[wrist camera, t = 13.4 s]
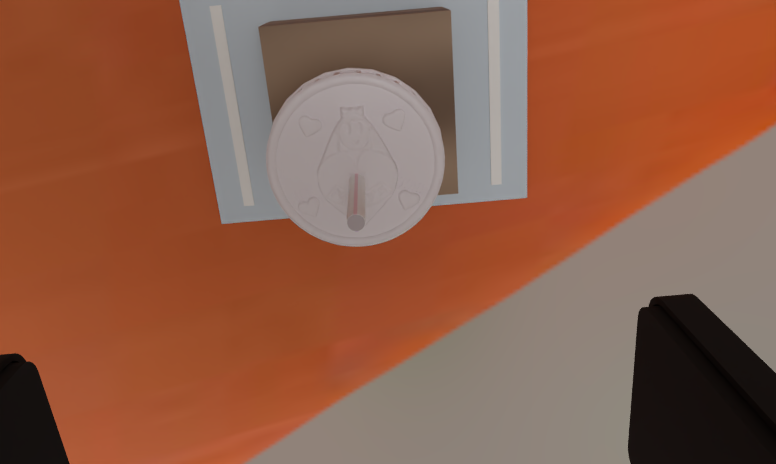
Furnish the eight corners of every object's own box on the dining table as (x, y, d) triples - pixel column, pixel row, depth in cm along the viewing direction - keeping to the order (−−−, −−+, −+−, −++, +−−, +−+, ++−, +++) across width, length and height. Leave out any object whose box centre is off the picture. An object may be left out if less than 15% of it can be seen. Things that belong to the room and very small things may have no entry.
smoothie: (300, 179, 32) (258, 312, 19) (284, 49, 30) (224, 100, 17) (425, 170, 33) (467, 296, 20) (419, 39, 30) (463, 82, 17)
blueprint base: (181, -13, 33) (152, -11, 29) (523, -42, 33) (547, -45, 29) (224, 219, 38) (205, 251, 34) (523, 193, 38) (544, 221, 34)
